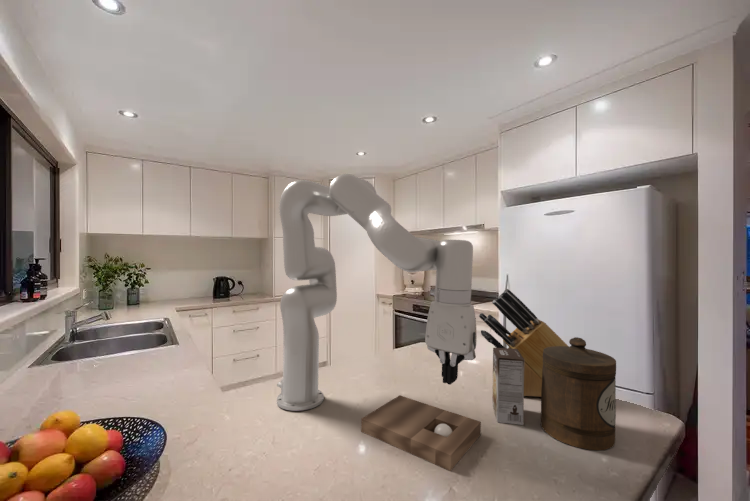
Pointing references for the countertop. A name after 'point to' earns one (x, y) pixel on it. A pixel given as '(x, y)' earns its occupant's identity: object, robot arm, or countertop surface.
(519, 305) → the knife block
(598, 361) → the wooden container
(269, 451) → the countertop surface
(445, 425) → the ball
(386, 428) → the board
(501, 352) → the coffee box
